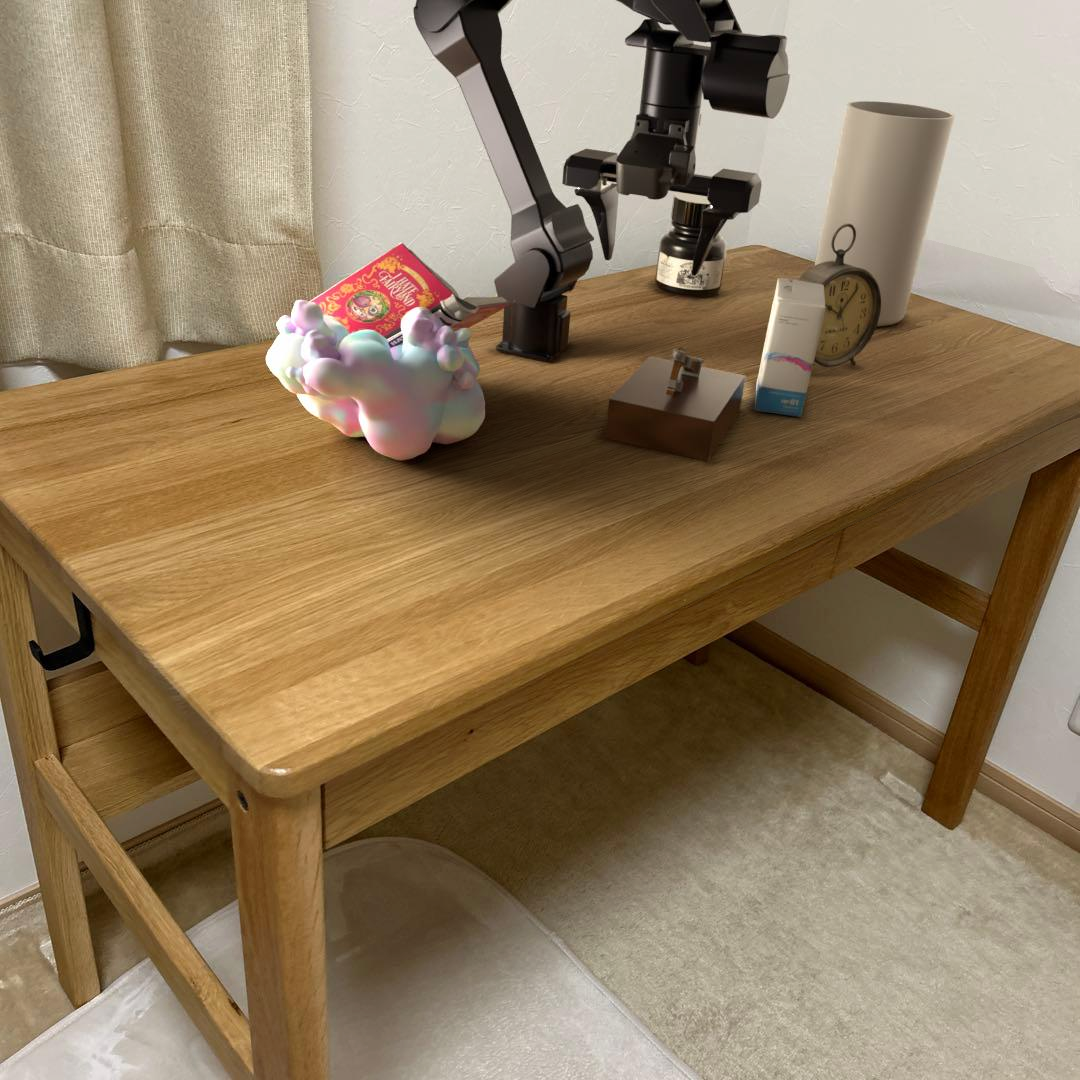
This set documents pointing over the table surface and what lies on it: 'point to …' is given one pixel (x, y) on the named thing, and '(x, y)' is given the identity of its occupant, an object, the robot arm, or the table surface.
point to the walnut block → (675, 409)
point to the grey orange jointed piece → (688, 367)
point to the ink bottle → (688, 251)
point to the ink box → (790, 347)
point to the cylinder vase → (885, 193)
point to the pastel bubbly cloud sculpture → (387, 356)
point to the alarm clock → (844, 307)
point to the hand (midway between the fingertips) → (650, 267)
